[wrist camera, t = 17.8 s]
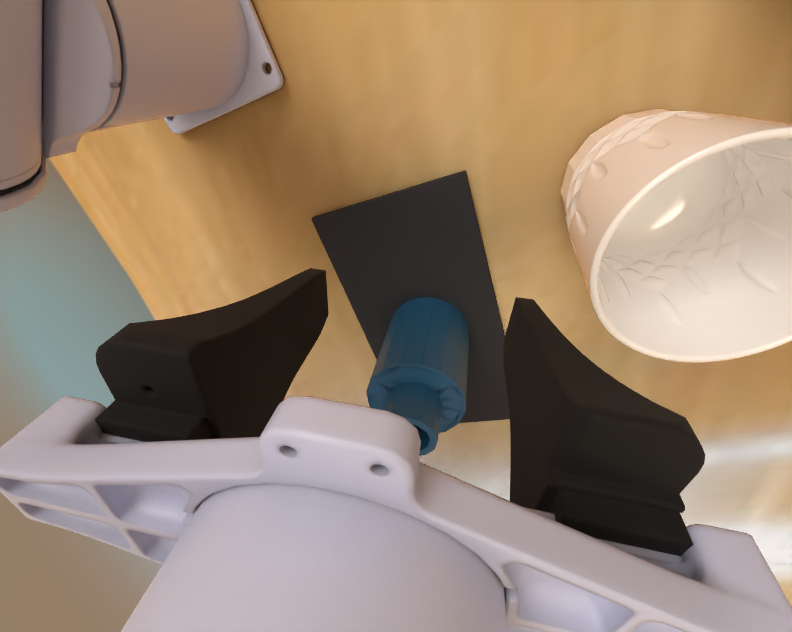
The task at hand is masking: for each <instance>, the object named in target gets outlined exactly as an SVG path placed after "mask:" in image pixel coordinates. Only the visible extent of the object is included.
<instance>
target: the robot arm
mask: <svg viewBox="0 0 792 632" xmlns="http://www.w3.org/2000/svg"><path fill="white" fill-rule="evenodd" d="M267 63H269V64H270V66H271V69H272V71H271V73H270V74H269V73H268V72H267V71H266V64H267ZM282 85H283V76H282V74H281V71H280V69H279V66H278V64H277V62H276V59H275V57H274V55H273V52H272V50H271V48H270V45H269V43H268V40H267V38H266V36H265V33H264V31H263V29H262V26H261V24H260V21H259V19H258V17H257V14H256V12H255V10H254V7H253V5H252V3H251V0H0V212H2V211H6V210H9V209H12V208H15V207H17V206H20V205H22V204H24V203H26V202H28V201H30V200H31V199H33V198H34V197H35V196H36V195H37V194H39V192H40V191H41V190H42V188H43V186H44V185H45V183H46V178H47V168H46V158H49V157H53V156H57V155H62V154H66V153H70V152H75V151H76V149H77V143H78V141H79V139H80V138H81V136H82V135H83V134H85V133H87V132H91V131H96V130H101V129H107V128H112V127H117V126H122V125H128V124H133V123H138V122H143V121H148V120H154V119H159V118H163V119H164V120H165V122H166V124H167V125H168V127H169V129H170V130H171V131H172V132H173V133H175V134H181V133H184V132H186V131H189V130H191V129H193V128H195V127H197V126H200V125H202V124H204V123H206V122H208V121H211V120H213V119H215V118H217V117H219V116H222V115H224V114H226V113H228V112H230V111H233V110H235V109H237V108H239V107H241V106H243V105H246V104H248V103H250V102H252V101H254V100H257V99H259V98H261V97H263V96H265V95H268V94H270V93H272V92H274V91H276V90H279V89H280V88H281V87H282ZM170 116H173V117H174V118H173V119H172V118H171V117H170ZM45 157H46V158H45ZM327 317H328V299H327V283H326V270H319V269H312V268H310V269H308V270H305V271H303V272H301V273H299V274H297V275H295V276H293V277H291V278H289V279H287V280H285V281H283V282H281V283H279V284H277V285H275V286H273V287H271V288H269V289H267V290H265V291H262V292H260V293H258V294H256V295H253V296H251V297H249V298H246V299H244V300H241V301H238V302H235V303H232V304H230V305H227V306H223V307H220V308H216V309H212V310H209V311H205V312H201V313H197V314H192V315H187V316H182V317H176V318H171V319H164V320H156V321H147V322H139V323H129V324H128V325H127V326H125V327H124V328H123V329H121V330H120V331H119V332H118V333H116V334H115V335H114V336H112V337H111V338H110V339H108V340H107V341H106V342H105V343H103V344H102V345H101V346H99V347H98V350H97V352H96V363H97V366H98V368H99V371H100V373H101V375H102V376H103V378H104V380H105V382H106V384H107V386H108V387H109V389H110V391H111V393H112V394H113V396H114V398H115V401H114V402H113V403H112V404H111V405H110V406H109V407H108V408H106V407H105V406H103V405H102V404H100V403H97V402H95V401H89V400H85V399H79V398H74V397H69V396H63V397H62V398H61V399H60V400H58V401H57V402H56V403H55V404H54V405H52V406H51V407H50V408H49V409H47V410H46V411H45V412H44V413H42V414H41V415H40V416H39V417H38V418H36V419H35V420H34V421H33V422H31V423H30V424H29V425H28V426H26V427H25V428H24V429H23V430H21V431H20V432H19V433H18V434H16V435H15V437H13V438H12V439H10V440H9V441H8V442H7V443H5V444H4V445H3V446H2V447H0V492H1V493H2V494H3V495H4V496H5V497H6V498H8V499H9V500H10V501H11V502H12V503H13V504H14V505H15V506H16V507H17V508H18V509H19V510H20V511H21V512H22V513H23V514H24V515H25V516H26V517H27V518H28V519H31V520H35V521H39V522H42V523H46V524H49V525H53V526H57V527H60V528H64V529H67V530H69V531H72V532H76V533H79V534H82V535H85V536H87V537H91V538H93V539H96V540H98V541H101V542H104V543H107V544H109V545H112V546H115V547H117V548H120V549H122V550H125V551H128V552H130V553H133V554H136V555H138V556H141V557H143V558H146V559H149V560H151V561H154V562H156V563H159V564H162V567H161V568H160V570H159V571H158V573H157V575H156V576H155V578H154V580H153V581H152V583H151V584H150V586H149V588H148V589H147V591H146V592H145V594H144V595H143V597H142V599H141V600H140V602H139V603H138V605H137V607H136V608H135V610H134V611H133V613H132V614H131V616H130V618H129V619H128V621H127V622H126V624H125V626H124V627H123V629H122V630H121V632H792V607H791V605H790V603H789V601H788V600H787V598H786V596H785V594H784V593H783V591H782V589H781V587H780V585H779V584H778V582H777V580H776V578H775V576H774V575H773V573H772V571H771V569H770V568H769V566H768V564H767V562H766V560H765V559H764V557H763V555H762V553H761V551H760V550H759V548H758V546H757V544H756V543H755V541H754V539H753V537H752V536H751V535H749V534H747V533H743V532H738V531H733V530H728V529H723V528H718V527H713V526H708V525H700V524H695V525H689V526H687V527H686V526H685V524H684V522H683V519H682V517H681V515H680V512H681V513H682V512H683V511H684V510H685V505H684V503H683V501H682V499H681V496H680V493H681V491H682V490H683V489H684V488H685V487H686V486H687V485H688V484H689V483H690V481H691V480H692V479H693V478H694V477H695V476H696V475H697V474H698V473H699V471H700V469H701V468H702V466H703V465H704V460H705V453H704V451H703V448H702V446H701V444H700V442H699V440H698V438H697V437H696V435H695V433H694V431H693V430H692V428H691V426H690V424H689V423H688V421H687V420H686V418H685V417H683V416H681V415H679V414H677V413H675V412H673V411H671V410H669V409H667V408H664V407H662V406H660V405H658V404H656V403H654V402H652V401H651V400H649V399H647V398H645V397H643V396H642V395H640V394H638V393H637V392H635V391H633V390H631V389H630V388H628V387H627V386H625V385H623V384H622V383H620V382H619V381H617V380H616V379H614V378H613V377H612V376H610V375H609V374H607V373H606V372H604V371H603V370H602V369H600V368H599V367H598V366H596V365H595V364H594V363H593V362H592V361H590V360H589V359H588V358H587V357H586V356H584V355H583V354H582V353H581V352H580V351H579V350H578V349H577V348H576V347H575V346H574V345H573V344H572V343H571V342H570V341H569V340H568V339H567V338H566V337H565V336H564V335H563V334H562V333H561V332H560V331H559V330H558V329H557V328H556V326H555V325H554V324H553V323H552V322H551V321H550V319H549V318H548V317H547V316H546V314H545V313H544V312H543V311H542V310H541V308H540V307H539V306H538V305H537V303H536V302H535V301H534V300H532V299H525V298H518V297H516V299H515V303H514V306H513V310H512V313H511V317H510V321H509V324H508V328H507V331H506V335H505V338H504V348H503V366H504V374H505V382H506V390H507V398H508V405H509V413H510V432H511V475H510V501H508V500H506V499H503V498H501V497H499V496H496V495H494V494H492V493H490V492H487V491H485V490H483V489H480V488H478V487H476V486H473V485H471V484H469V483H466V482H464V481H462V480H460V479H457V478H455V477H453V476H450V475H448V474H446V473H443V472H441V471H439V470H436V469H434V468H432V467H429V466H427V465H425V464H423V463H421V462H420V461H419V452H420V445H421V441H420V437H419V433H418V430H417V429H416V428H415V427H414V426H413V425H412V424H411V423H410V422H409V421H408V420H407V419H405V418H404V417H402V416H400V415H397V414H394V413H392V412H389V411H385V410H380V409H374V408H369V407H364V406H358V405H353V404H347V403H342V402H337V401H331V400H326V399H320V398H315V397H310V396H296V397H289V398H287V399H286V400H284V397H285V395H286V393H287V391H288V389H289V387H290V384H291V382H292V381H293V379H294V377H295V375H296V373H297V372H298V370H299V369H300V367H301V365H302V364H303V362H304V360H305V359H306V357H307V355H308V354H309V352H310V351H311V349H312V347H313V346H314V344H315V342H316V341H317V339H318V337H319V335H320V334H321V331H322V329H323V327H324V324H325V322H326V319H327ZM283 400H284V401H283Z"/></svg>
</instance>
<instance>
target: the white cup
mask: <svg viewBox="0 0 792 632" xmlns="http://www.w3.org/2000/svg"><path fill="white" fill-rule="evenodd" d="M560 192H561V197H562V202H563V207H564V212H565V216H566V224H567V228H568V231H569V236H570V239H571V243H572V246H573V249H574V252H575V255H576V258H577V261H578V263H579V266H580V269H581V272H582V275H583V278H584V281H585V283H586V286H587V289H588V292H589V295H590V298H591V301H592V304H593V307H594V310H595V312H596V314H597V316H598V318H599V320H600V322H601V323H602V324H603V326H604V327H605V328H606V329H607V331H608V332H609V333H610V334H611V335H612V336H614V337H615V338H616V339H617V340H618V341H620V342H621V343H623V344H624V345H626V346H627V347H629V348H631V349H633V350H635V351H637V352H640V353H642V354H645V355H648V356H651V357H655V358H659V359H664V360H669V361H677V362H715V361H723V360H730V359H736V358H741V357H745V356H749V355H753V354H757V353H760V352H763V351H766V350H769V349H772V348H775V347H778V346H780V345H783V344H785V343H788V342H790V341H792V124H789V123H782V122H775V121H768V120H762V119H755V118H748V117H742V116H735V115H727V114H717V113H704V112H696V111H670V110H664V109H653V110H647V111H642V112H636V113H630V114H624V115H621V116H620V117H618V118H616V119H615V120H613V121H611V122H610V123H608V124H607V125H605V126H603V127H602V128H600V129H598V130H597V131H595V132H593V133H592V134H590V135H589V137H588V138H587V139H586V140H585V142H584V143H583V144H582V146H581V147H580V148H579V149H578V151H577V152H576V153H575V154H574V156H573V157H572V158H571V160H570V161H569V162H568V166H567V169H566V173H565V176H564V180H563V184H562V187H561V191H560Z"/></svg>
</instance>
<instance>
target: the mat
mask: <svg viewBox="0 0 792 632" xmlns="http://www.w3.org/2000/svg"><path fill="white" fill-rule="evenodd" d="M312 222H313V224H314V226H315V228H316V230H317V232H318V234H319V237H320V239H321V241H322V243H323V245H324V247H325V249H326V252H327V254H328V256H329V258H330V260H331V262H332V264H333V267H334V269H335V271H336V273H337V275H338V277H339V279H340V282H341V284H342V286H343V288H344V290H345V292H346V294H347V297H348V299H349V301H350V303H351V305H352V307H353V310H354V312H355V314H356V316H357V318H358V320H359V322H360V325H361V327H362V329H363V331H364V333H365V335H366V337H367V340H368V342H369V344H370V346H371V348H372V350H373V352H374V355H375V357H376V359H378V357H379V354H380V351H381V348H382V345H383V342H384V339H385V336H386V334H387V331H388V328H389V325H390V322H391V319H392V316H393V315H394V313H395V311H396V310H397V309H398V308H399V307H400V306H401V305H402V304H404V303H406V302H407V301H410V300H412V299H415V298H421V297H432V298H438V299H441V300H444V301H447V302H449V303H450V304H452V305H454V306H455V307H456V308H457V309H459V310H460V311H461V313H462V314H463V315H464V317H465V318H466V320H467V323H468V326H469V353H468V373H467V393H466V411H465V413H464V415H463V417H462V418H461V420H460V422H459V423H465V422H478V421H490V420H503V419H510V413H509V405H508V398H507V390H506V382H505V374H504V366H503V348H504V338H505V335H504V331H503V327H502V322H501V318H500V314H499V310H498V305H497V301H496V297H495V293H494V289H493V284H492V280H491V276H490V272H489V267H488V263H487V259H486V255H485V251H484V246H483V242H482V238H481V234H480V229H479V225H478V221H477V217H476V213H475V208H474V204H473V200H472V196H471V191H470V187H469V183H468V179H467V175H466V171H462V172H458V173H455V174H452V175H449V176H445V177H442V178H439V179H436V180H432V181H429V182H426V183H423V184H419V185H416V186H413V187H409V188H406V189H403V190H400V191H396V192H393V193H390V194H387V195H383V196H380V197H377V198H374V199H370V200H367V201H364V202H361V203H357V204H354V205H351V206H347V207H344V208H341V209H338V210H334V211H331V212H328V213H325V214H321V215H318V216H315V217H313V218H312Z"/></svg>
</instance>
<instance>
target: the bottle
mask: <svg viewBox="0 0 792 632" xmlns="http://www.w3.org/2000/svg"><path fill="white" fill-rule="evenodd" d="M468 353H469V326H468V323H467V320H466V318H465V317H464V315H463V314H462V313H461V311H460V310H459V309H457V308H456V307H455V306H454V305H452V304H450V303H449V302H447V301H444V300H441V299H438V298H432V297H421V298H415V299H412V300H410V301H407V302H406V303H404V304H402V305H401V306H400V307H399V308H398V309H397V310H396V311H395V313H394V315H393V316H392V319H391V322H390V325H389V328H388V331H387V334H386V336H385V339H384V342H383V345H382V348H381V351H380V354H379V357H378V359H377V362H376V365H375V368H374V371H373V374H372V377H371V379H370V382H369V385H368V388H367V391H366V393H367V397H368V402H369V406H370V407H371V408H374V409H380V410H385V411H389V412H392V413H394V414H397V415H400V416H402V417H404V418H405V419H407V420H408V421H409V422H410V423H411V424H412V425H413V426H414V427H415V428H416V429H417V430H418V433H419V437H420V441H421V445H420V452H419V455H426V454H427V453H429V452H431V451H432V450H434V449H435V447H436V444H437V441H438V434H439V433H441V432H445V431H447V430H449V429H450V428H452V427H454V426H455V425H457V424H458V423H459V422H460V420H461V418H462V417H463V415H464V413H465V411H466V393H467V373H468Z"/></svg>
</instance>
